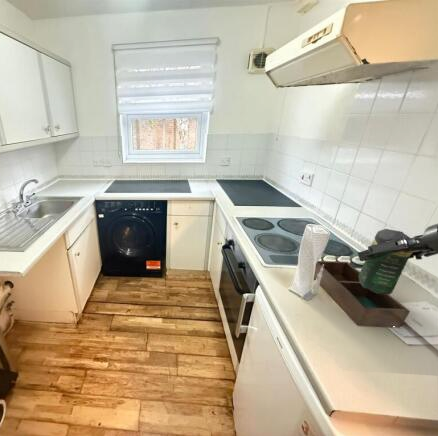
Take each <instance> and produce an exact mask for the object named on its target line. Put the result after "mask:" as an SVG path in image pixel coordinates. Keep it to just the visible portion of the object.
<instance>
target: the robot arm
mask: <svg viewBox="0 0 438 436" xmlns="http://www.w3.org/2000/svg"><path fill="white" fill-rule="evenodd" d="M409 245H410V246H411V248H412V249H410V247H409ZM404 251H406V252H412V254H411V256H410V257H409V259H414V258H415V260H417V261H419V260H423V256H424V258H429V257H431V256H436V255H438V223H435V224H432V225H430V226H428V227H427V228H425V230H424V231H423V234H420V235H415V236H413V237H410V238H408V239H406V237H400V238H398V239H395V240H391V241H387V242H383V243H379V244H376V245H372V244H370V245H368V246H367V249H365V250H361V251H359V252H357V255H358V259H359V262H365V260H369V259H372V258H376V257H380V255H385V254H391V253H398V252H404ZM409 259H408V260H409Z"/></svg>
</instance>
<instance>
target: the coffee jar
mask: <svg viewBox="0 0 438 436" xmlns="http://www.w3.org/2000/svg"><path fill="white" fill-rule="evenodd" d="M400 237H406V239H408V238H411V237H410V236H408V235H407V234H405V233H404V232H403V231H400V230H395V229H389V228H384V229H381V230H378V231H377V232H376V234H375V236H374V238H373V241H372V243H371V245H376V244H379V243H383V242H387V241H391V240H395V239H398V238H400ZM409 247H410V249H412V248H411V246H410V245H409ZM411 254H412V252H406V251H404V252H398V253H391V254H385V255H380V257H376V258H372V259H369V260H365V261H364V263H363V264H362V267H361V269H360V270H359V272H360V274H359V281H360V284H361V285H362V286H363V287H364V288H366V289H368V290H371V291H372V292H375V293H379V294H389V295H391V294H393V292H394V290H395V288H396V286H397V284H398V282H399V279H400V277H401V275H402V273H403V271H404V269H405V267H406V265H407V263H408V261H409V257H410V256H411Z"/></svg>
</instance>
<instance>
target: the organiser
mask: <svg viewBox="0 0 438 436" xmlns="http://www.w3.org/2000/svg"><path fill="white" fill-rule="evenodd" d="M323 264H324V266H323ZM322 266H323V271H322V278H321V280H320V284H319V287H321V288H322V290H323V291H325V292H326V294H327V295H328V296H330V298H331V299H332V300H333V301H334V302H335V303H336V304H337V305H338V306H339V307H340V309H342V311H343V312H344V313H345V314H346V315H347V316H348V317H349V318H350V319H351V320H352V321H353V323H354V324H355V325H357V327H371V328H373V327H374V328H375V327H376V328H392V327H393V326H395V327H401V328H402V327H403V325H404V323H405V321H406V320H407V317H408V316H409V314H410V312H411V311H410V310H409V309H408V308H407V307H406V306H404V305H403V304H402V303H400V302H399V301H398V300H397V299H396V298H394V297H393V296H392V295H391V294H379V293H375V292H372V291H371V290H368V289H366V288H364V287H363V286H362V285H361V284H360V281H359V274H360V270H358V269H357V268H356V267H355V266H353V265H352V264H350V262H348V261H333V260H331V261H329V260H318V262H317V263H316V266H315V274H314V279H313V280H314V281H316V278H317V274H319V272H320V269H321V268H322Z"/></svg>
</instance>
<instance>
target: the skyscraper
mask: <svg viewBox="0 0 438 436" xmlns="http://www.w3.org/2000/svg"><path fill="white" fill-rule="evenodd" d="M330 236H331V232H330V230H329V228H326V227H324V225H320V224H314V223H313V224H312V223H309V224H306V225H305V228H304V231H303V234H302V238H301V240H300V245H299V251H298V257H297V265H296V268H295V270H294V271H293V275H292V277H291V281H290V283H289V287H288V291H289V292H291V293H292V294H295V295H296V296H298V297H300V298H301V299H303V300H305V301H306V302H309V301H310V300H312V299H313V298H315V296H318V294H319V293H318V291H319V287H320V285H319V284H320V280H321V278H322V271H323V266H324V264H323V266H322V268H321V269H320V272H319V274H317V278H316V280H315V279H314V274H315V266H316V263H317V262H318V261H320V259H321V257H322V256H323V254H324V252H325V250H326V248H327V245H328V243H329V240H330Z"/></svg>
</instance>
